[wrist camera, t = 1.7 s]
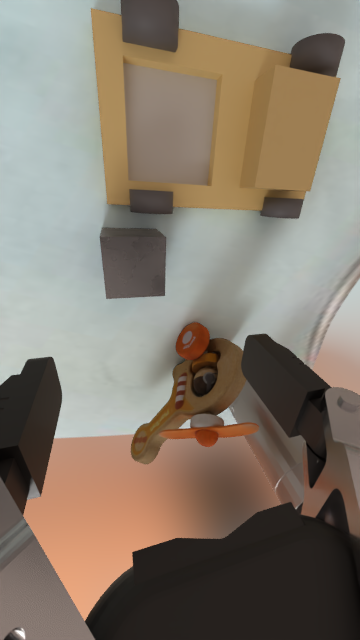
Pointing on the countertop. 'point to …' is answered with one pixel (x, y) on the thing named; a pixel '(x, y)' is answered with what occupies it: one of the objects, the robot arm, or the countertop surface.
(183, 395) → the toy helicopter
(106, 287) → the block
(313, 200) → the countertop surface
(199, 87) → the chassis
